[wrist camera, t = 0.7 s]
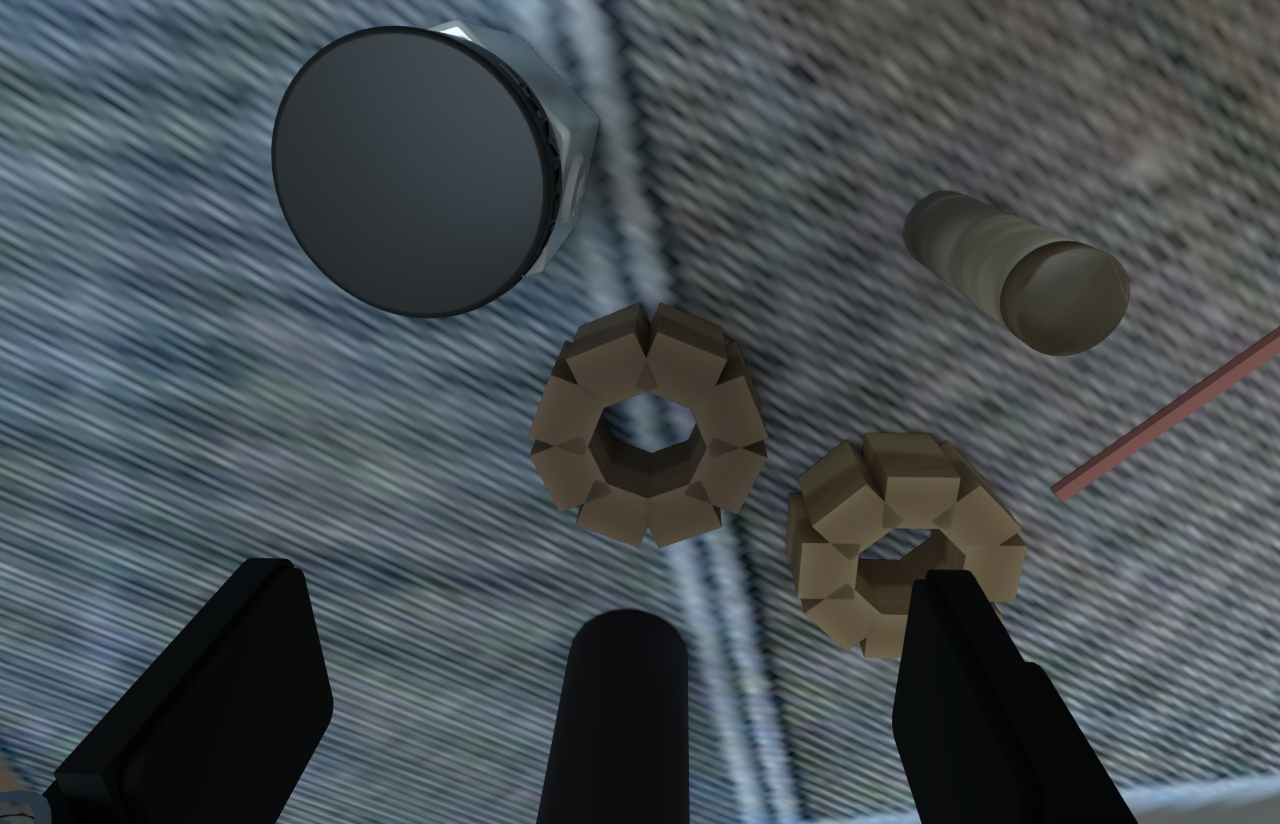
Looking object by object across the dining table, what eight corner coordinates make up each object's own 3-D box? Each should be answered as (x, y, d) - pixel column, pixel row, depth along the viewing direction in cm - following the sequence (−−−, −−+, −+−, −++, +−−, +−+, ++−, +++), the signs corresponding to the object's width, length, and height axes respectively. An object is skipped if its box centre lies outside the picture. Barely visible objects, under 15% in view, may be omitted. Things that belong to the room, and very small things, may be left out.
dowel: (948, 173, 32) (1088, 223, 21) (994, 228, 33) (1152, 303, 22) (887, 229, 33) (990, 303, 22) (933, 280, 34) (1054, 376, 23)
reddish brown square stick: (1283, 324, 34) (1291, 328, 34) (1290, 335, 34) (1298, 338, 34) (1050, 488, 38) (1055, 493, 37) (1058, 496, 38) (1063, 502, 38)
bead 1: (590, 274, 35) (578, 300, 30) (789, 353, 36) (803, 389, 32) (522, 454, 38) (504, 499, 34) (703, 521, 40) (706, 572, 35)
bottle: (657, 715, 45) (642, 1149, 27) (552, 675, 44) (462, 1095, 26) (708, 634, 43) (729, 1053, 24) (597, 590, 42) (532, 990, 23)
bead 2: (902, 393, 36) (931, 434, 32) (1026, 522, 39) (1067, 575, 35) (747, 518, 39) (755, 570, 35) (870, 630, 42) (891, 690, 38)
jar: (571, 272, 35) (521, 362, 24) (395, 226, 34) (260, 295, 23) (617, 63, 31) (583, 54, 20) (421, 8, 31) (276, -31, 20)
